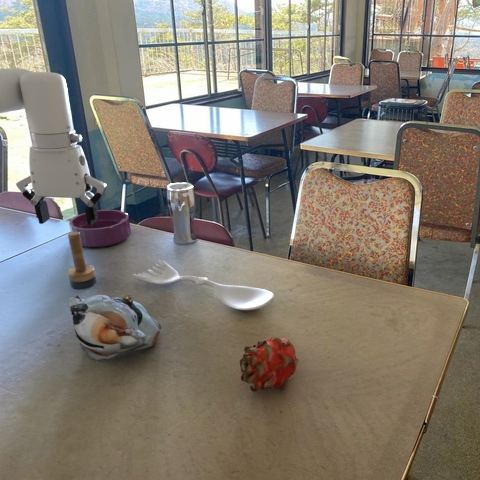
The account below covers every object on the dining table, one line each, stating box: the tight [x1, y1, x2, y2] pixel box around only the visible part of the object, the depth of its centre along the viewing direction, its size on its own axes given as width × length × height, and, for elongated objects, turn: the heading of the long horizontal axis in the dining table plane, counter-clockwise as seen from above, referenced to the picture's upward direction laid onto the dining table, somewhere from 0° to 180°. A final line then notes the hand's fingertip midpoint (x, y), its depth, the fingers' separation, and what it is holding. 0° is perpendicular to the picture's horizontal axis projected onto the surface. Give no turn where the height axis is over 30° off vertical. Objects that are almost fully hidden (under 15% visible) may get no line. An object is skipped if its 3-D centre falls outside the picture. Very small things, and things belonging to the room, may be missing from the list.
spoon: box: [131, 258, 275, 311], centre depth 102 cm, size 9×32×4 cm, turn 66°
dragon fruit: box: [239, 336, 299, 393], centre depth 77 cm, size 8×8×12 cm
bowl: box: [69, 209, 132, 248], centre depth 127 cm, size 14×14×6 cm
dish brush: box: [67, 231, 97, 290], centre depth 103 cm, size 5×5×12 cm
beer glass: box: [166, 182, 198, 246], centre depth 125 cm, size 7×7×15 cm
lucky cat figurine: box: [67, 294, 162, 361], centre depth 82 cm, size 15×12×14 cm
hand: (68, 222), depth 100 cm, fingers open, 9 cm apart
